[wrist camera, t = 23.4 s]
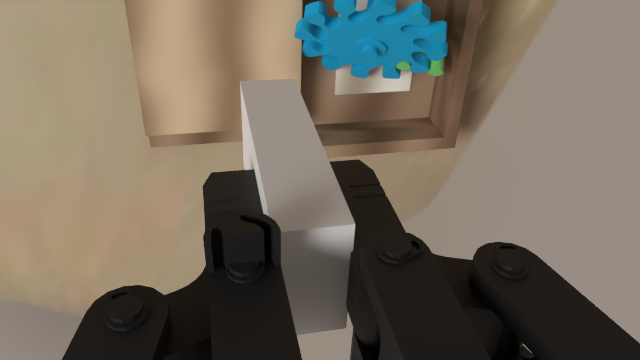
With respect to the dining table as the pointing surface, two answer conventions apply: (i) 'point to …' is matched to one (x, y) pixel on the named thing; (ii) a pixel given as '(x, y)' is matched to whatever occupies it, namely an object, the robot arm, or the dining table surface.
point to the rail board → (289, 75)
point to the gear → (374, 38)
